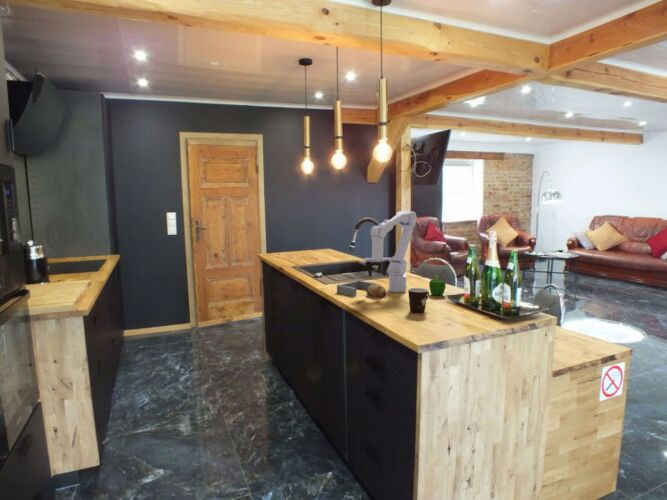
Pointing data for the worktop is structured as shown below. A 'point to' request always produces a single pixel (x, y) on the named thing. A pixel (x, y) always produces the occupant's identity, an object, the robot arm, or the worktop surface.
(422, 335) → the worktop surface
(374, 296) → the bread roll
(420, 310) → the coffee mug
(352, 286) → the box
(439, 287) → the bell pepper
